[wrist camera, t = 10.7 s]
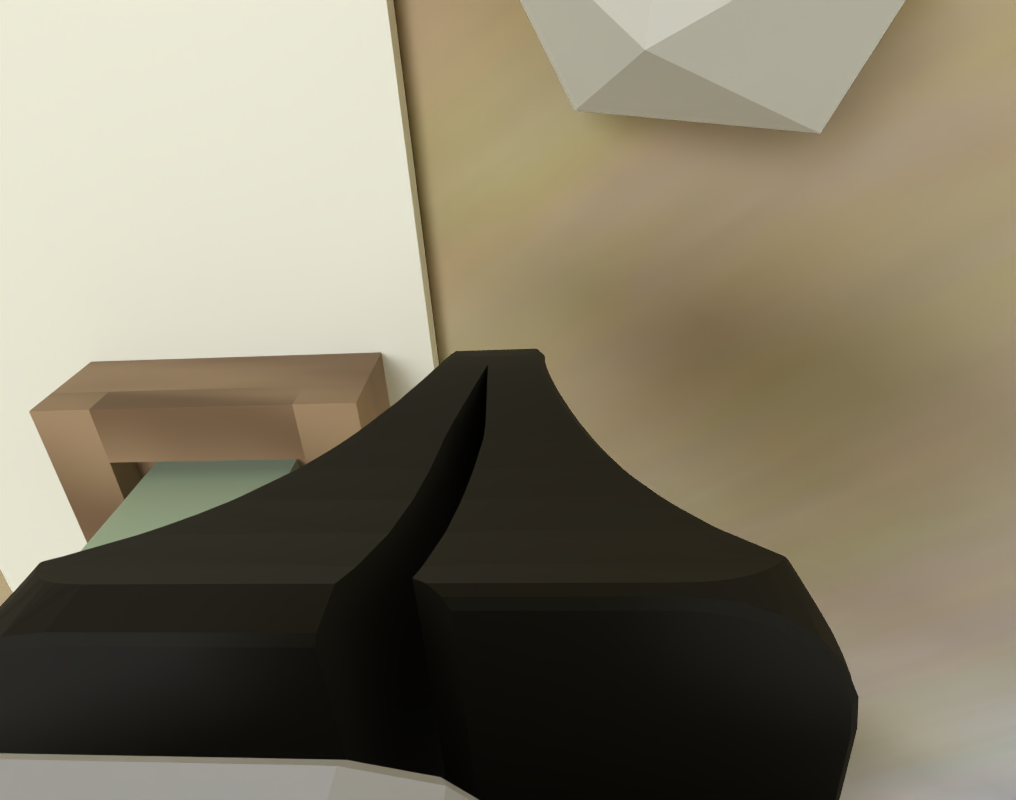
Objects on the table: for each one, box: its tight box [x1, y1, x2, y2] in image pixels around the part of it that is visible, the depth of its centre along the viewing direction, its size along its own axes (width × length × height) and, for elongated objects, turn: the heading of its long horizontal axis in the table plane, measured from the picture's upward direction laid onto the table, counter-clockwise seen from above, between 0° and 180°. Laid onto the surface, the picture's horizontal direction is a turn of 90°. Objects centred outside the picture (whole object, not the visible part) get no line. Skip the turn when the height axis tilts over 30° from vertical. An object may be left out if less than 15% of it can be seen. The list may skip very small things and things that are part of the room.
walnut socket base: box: [29, 352, 390, 543], centre depth 23 cm, size 9×9×3 cm
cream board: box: [0, 0, 439, 592], centre depth 22 cm, size 22×17×1 cm
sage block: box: [81, 459, 300, 551], centre depth 20 cm, size 4×4×4 cm
